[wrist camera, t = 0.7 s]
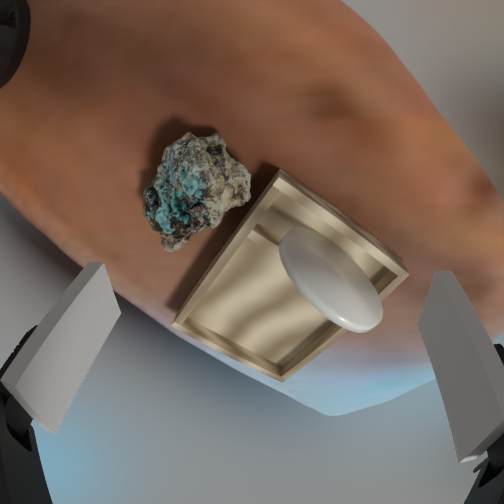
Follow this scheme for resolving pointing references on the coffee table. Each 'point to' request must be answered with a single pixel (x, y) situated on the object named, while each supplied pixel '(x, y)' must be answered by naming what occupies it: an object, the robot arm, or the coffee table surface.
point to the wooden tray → (277, 283)
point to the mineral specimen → (193, 188)
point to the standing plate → (330, 280)
